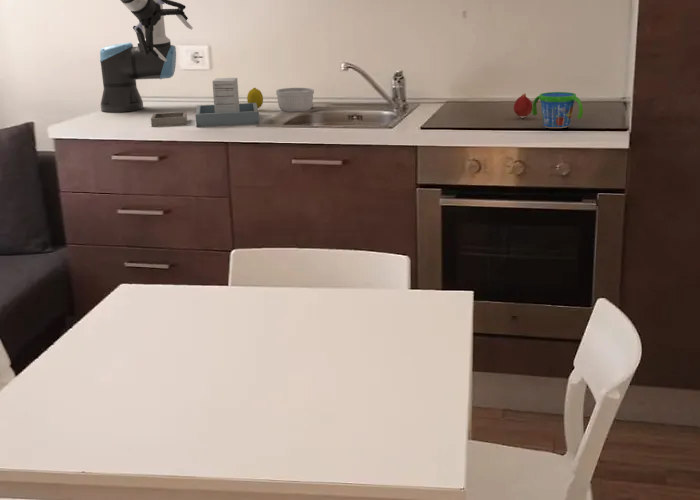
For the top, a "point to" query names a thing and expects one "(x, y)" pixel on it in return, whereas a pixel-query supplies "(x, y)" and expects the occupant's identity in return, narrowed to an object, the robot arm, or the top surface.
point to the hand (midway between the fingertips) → (176, 43)
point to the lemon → (255, 97)
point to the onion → (523, 106)
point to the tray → (227, 116)
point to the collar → (169, 119)
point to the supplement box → (226, 95)
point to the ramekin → (295, 99)
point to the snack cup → (557, 108)
